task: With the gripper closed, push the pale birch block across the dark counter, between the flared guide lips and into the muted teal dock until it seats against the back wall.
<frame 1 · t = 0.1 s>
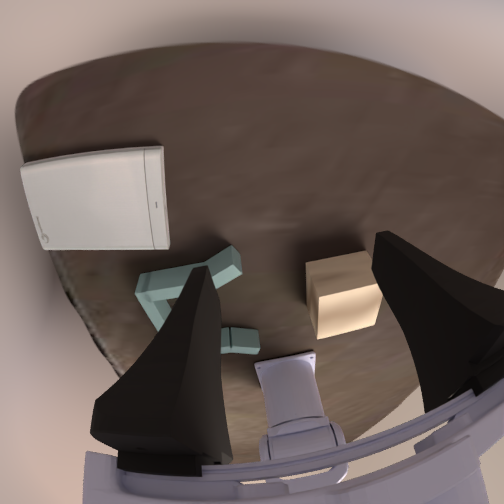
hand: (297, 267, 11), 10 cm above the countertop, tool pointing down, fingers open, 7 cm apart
dock: (195, 306, 26), on the countertop
birch block: (335, 278, 26), on the countertop
hard drive: (95, 197, 19), on the countertop
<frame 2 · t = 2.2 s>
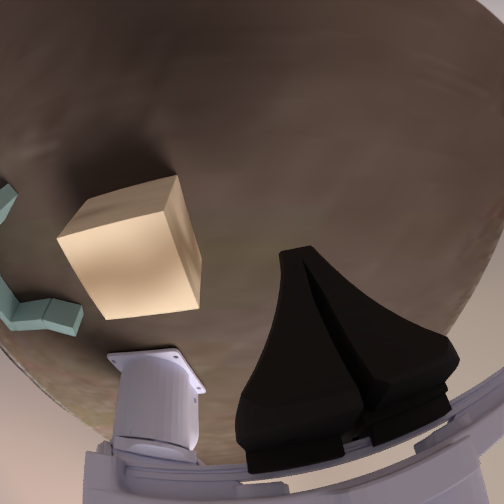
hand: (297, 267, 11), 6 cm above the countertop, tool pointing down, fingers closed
dock: (11, 267, 16), on the countertop
birch block: (145, 228, 16), on the countertop
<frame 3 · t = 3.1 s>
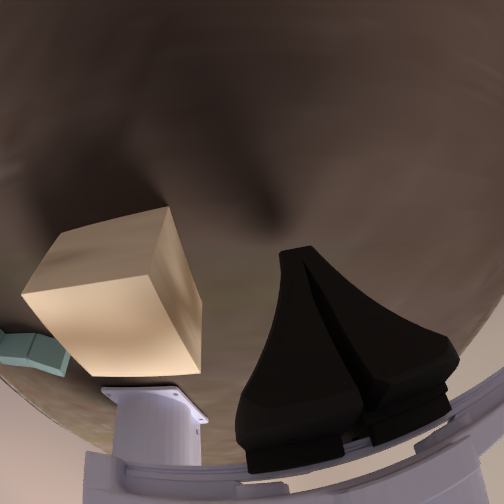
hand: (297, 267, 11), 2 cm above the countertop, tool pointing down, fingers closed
birch block: (132, 268, 13), on the countertop
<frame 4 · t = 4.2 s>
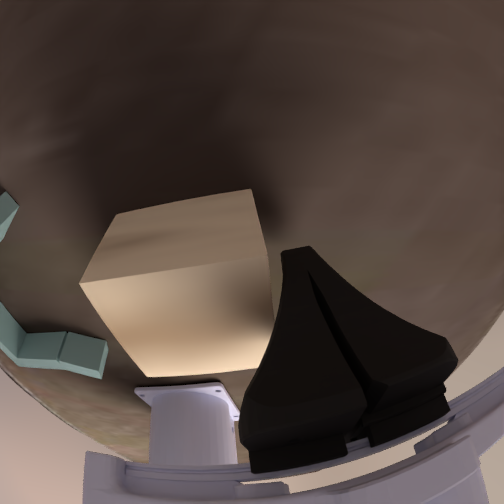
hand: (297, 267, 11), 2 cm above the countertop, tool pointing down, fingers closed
dock: (14, 294, 13), on the countertop
birch block: (195, 257, 13), on the countertop, touching gripper
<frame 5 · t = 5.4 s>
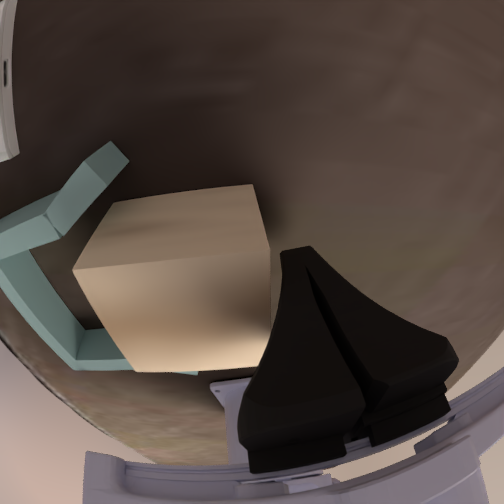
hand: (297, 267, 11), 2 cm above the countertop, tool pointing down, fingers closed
dock: (81, 281, 13), on the countertop
birch block: (191, 251, 13), on the countertop, touching gripper
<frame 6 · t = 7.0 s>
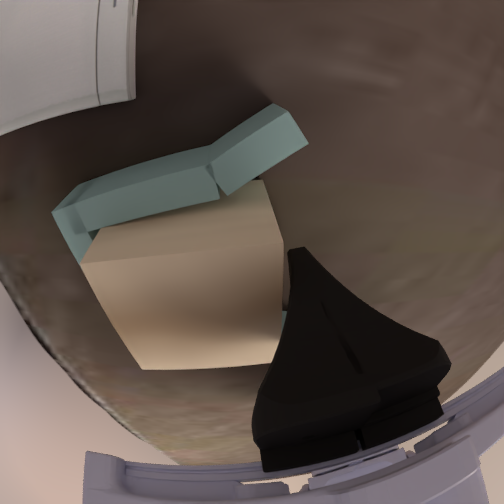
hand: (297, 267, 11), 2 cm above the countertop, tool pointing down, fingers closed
dock: (187, 261, 13), on the countertop
birch block: (199, 247, 13), on the countertop, touching dock, gripper
hard drive: (22, 47, 6), on the countertop
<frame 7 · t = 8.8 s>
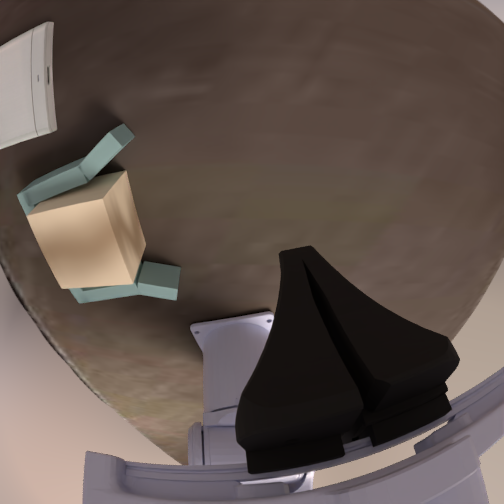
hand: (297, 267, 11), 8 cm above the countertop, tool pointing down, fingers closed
dock: (94, 225, 18), on the countertop
birch block: (100, 214, 18), on the countertop
hard drive: (0, 98, 11), on the countertop
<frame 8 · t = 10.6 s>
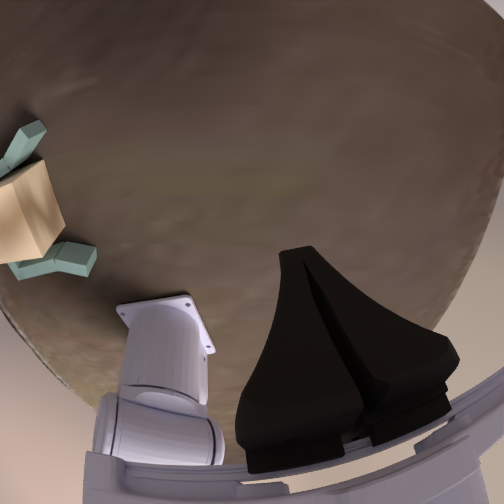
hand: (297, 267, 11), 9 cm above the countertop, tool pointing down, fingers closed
dock: (26, 210, 17), on the countertop
birch block: (30, 199, 17), on the countertop
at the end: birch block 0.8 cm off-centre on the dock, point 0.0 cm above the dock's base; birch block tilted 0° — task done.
